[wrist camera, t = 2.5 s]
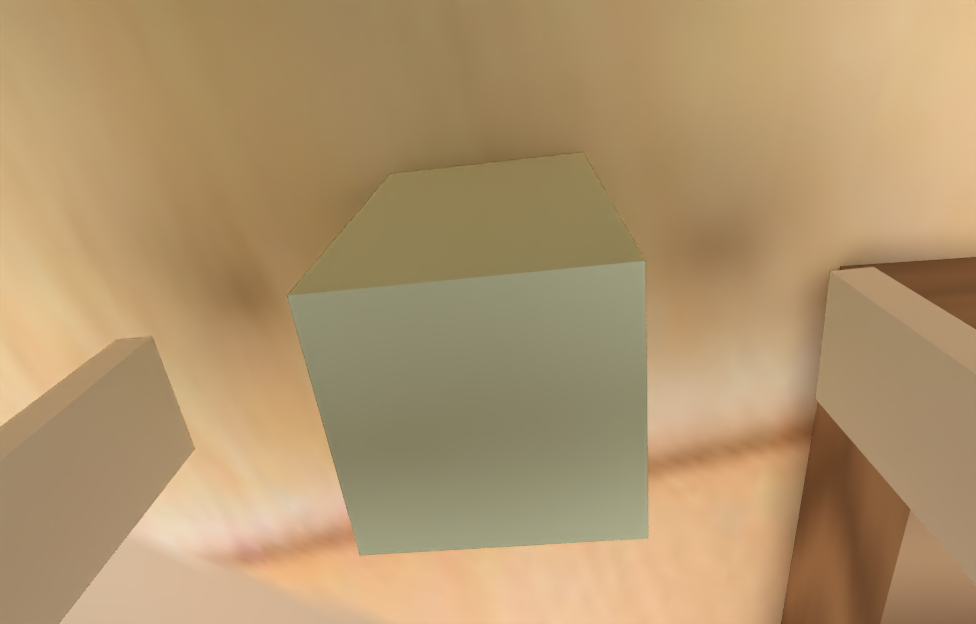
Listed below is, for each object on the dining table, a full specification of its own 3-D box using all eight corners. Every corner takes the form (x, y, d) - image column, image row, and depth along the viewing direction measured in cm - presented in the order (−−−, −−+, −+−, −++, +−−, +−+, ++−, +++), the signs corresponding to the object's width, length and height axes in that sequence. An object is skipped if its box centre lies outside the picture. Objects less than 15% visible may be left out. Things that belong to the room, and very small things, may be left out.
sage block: (390, 173, 16) (286, 295, 9) (583, 151, 15) (645, 261, 8) (421, 342, 18) (360, 555, 11) (592, 327, 17) (648, 538, 10)
